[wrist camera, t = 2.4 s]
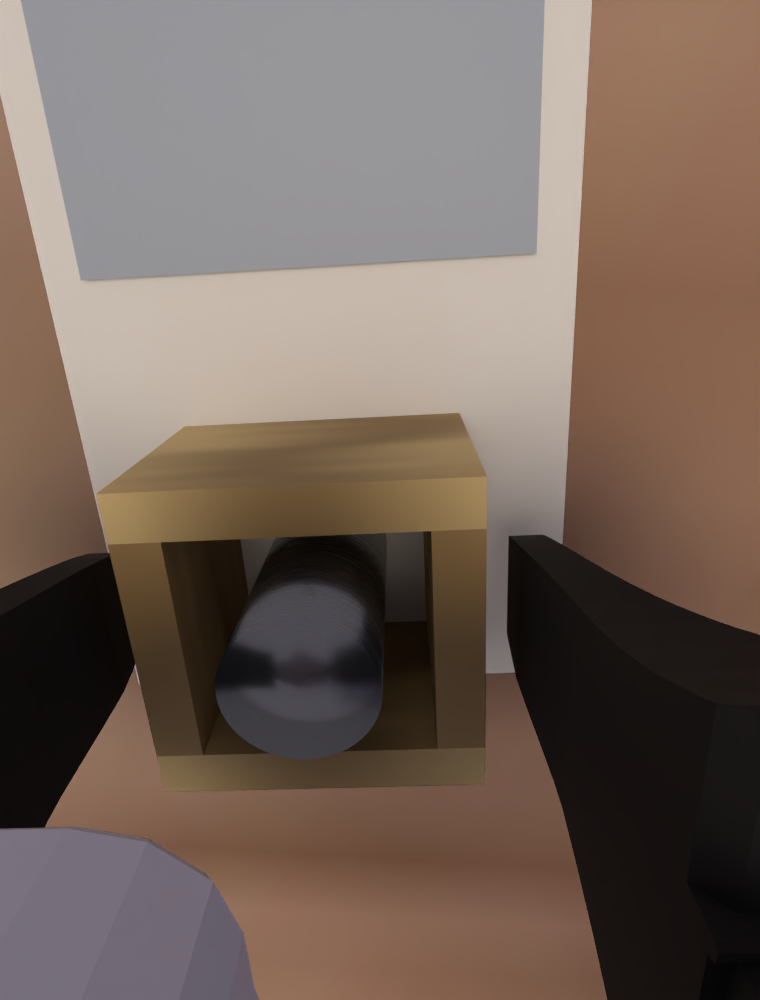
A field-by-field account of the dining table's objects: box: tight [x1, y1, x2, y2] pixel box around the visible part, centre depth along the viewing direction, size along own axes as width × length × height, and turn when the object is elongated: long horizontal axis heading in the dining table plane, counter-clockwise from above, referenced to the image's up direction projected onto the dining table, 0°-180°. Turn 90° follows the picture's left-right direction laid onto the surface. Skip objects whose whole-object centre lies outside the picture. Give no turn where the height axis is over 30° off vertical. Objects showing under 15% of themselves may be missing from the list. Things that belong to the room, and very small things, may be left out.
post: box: [215, 533, 387, 759], centre depth 12 cm, size 2×2×6 cm
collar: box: [96, 413, 487, 792], centre depth 12 cm, size 6×6×4 cm
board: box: [0, 0, 592, 685], centre depth 12 cm, size 10×17×1 cm, turn 3°
